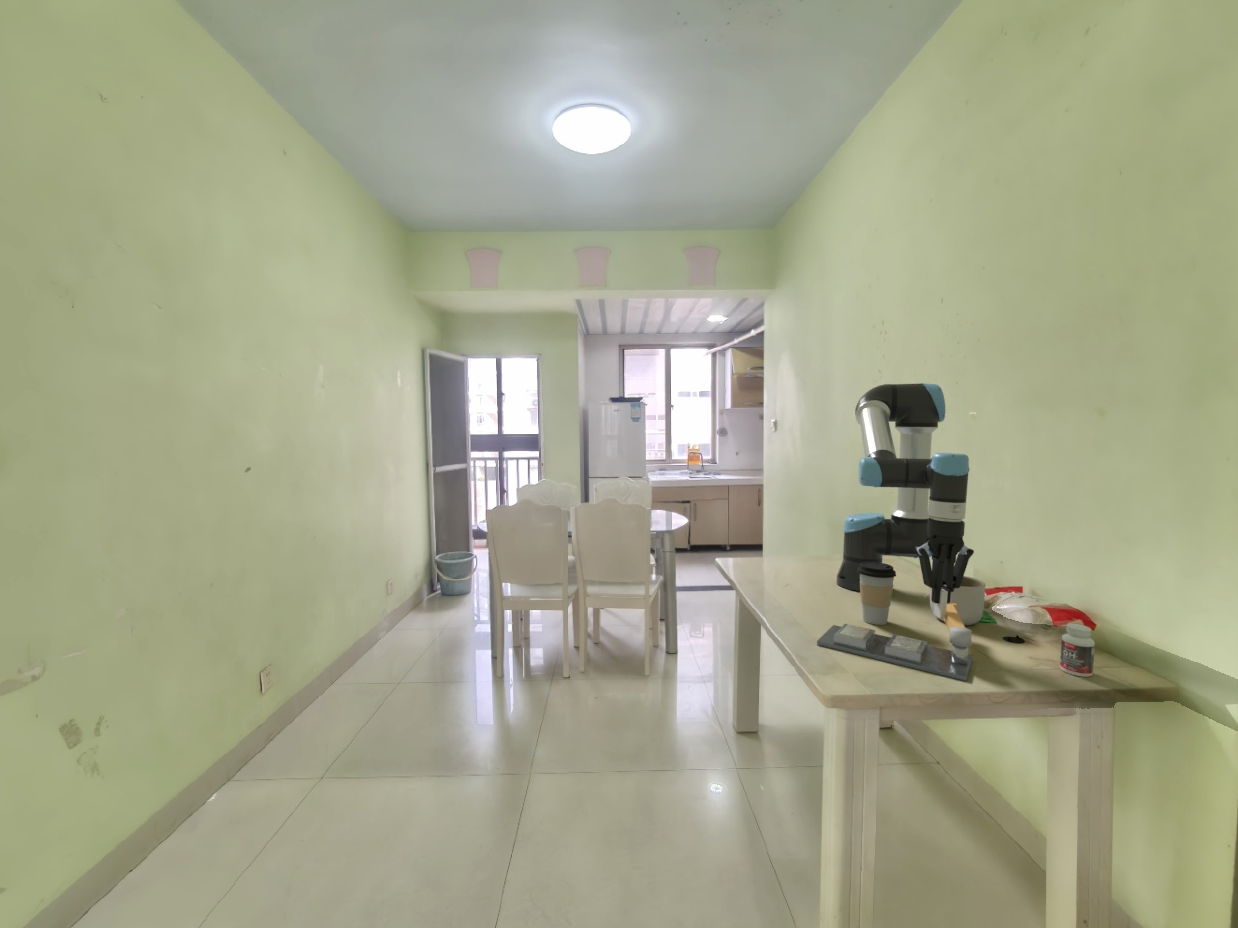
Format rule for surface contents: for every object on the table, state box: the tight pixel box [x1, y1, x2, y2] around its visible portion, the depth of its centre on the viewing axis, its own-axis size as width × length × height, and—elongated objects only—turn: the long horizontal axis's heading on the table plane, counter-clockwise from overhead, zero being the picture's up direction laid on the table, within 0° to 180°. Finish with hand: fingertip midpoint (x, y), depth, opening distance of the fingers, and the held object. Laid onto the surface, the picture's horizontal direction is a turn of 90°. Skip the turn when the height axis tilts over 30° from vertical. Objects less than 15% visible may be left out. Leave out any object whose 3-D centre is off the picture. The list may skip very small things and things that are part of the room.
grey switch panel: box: [816, 623, 974, 682], centre depth 125 cm, size 13×30×5 cm, turn 53°
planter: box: [929, 575, 986, 626], centre depth 146 cm, size 12×12×11 cm
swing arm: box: [943, 603, 973, 648], centre depth 126 cm, size 22×4×3 cm, turn 157°
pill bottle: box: [1059, 623, 1096, 678], centre depth 115 cm, size 5×5×10 cm
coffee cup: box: [857, 562, 897, 626], centre depth 145 cm, size 9×9×15 cm
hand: (939, 616), depth 130 cm, fingers closed
